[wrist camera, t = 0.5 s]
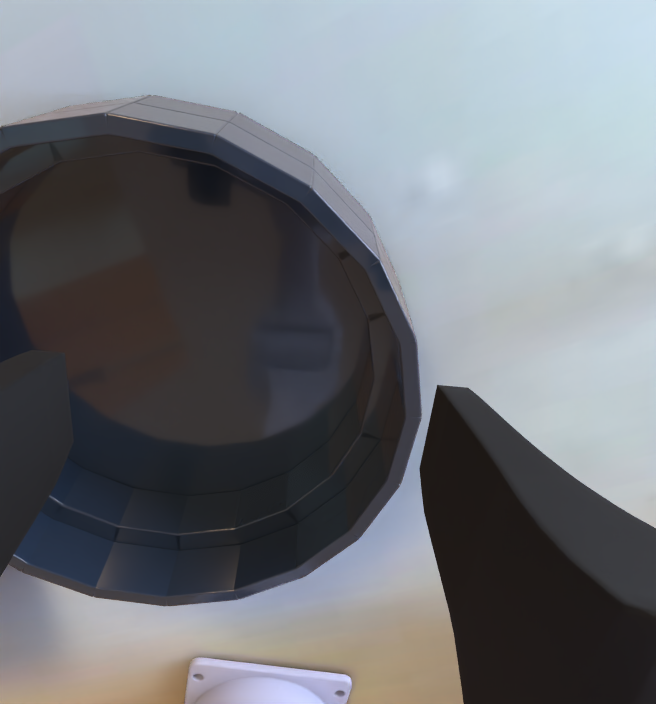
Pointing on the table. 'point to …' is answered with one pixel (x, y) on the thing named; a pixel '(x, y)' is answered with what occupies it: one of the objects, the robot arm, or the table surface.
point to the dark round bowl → (201, 349)
